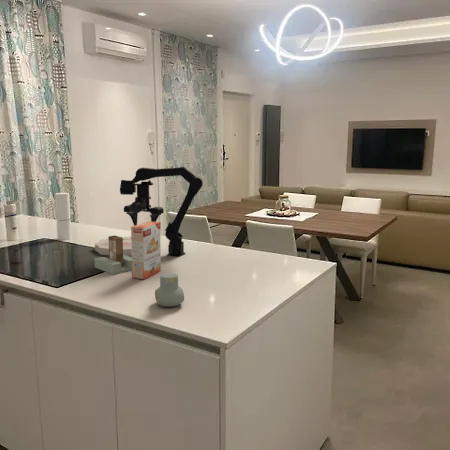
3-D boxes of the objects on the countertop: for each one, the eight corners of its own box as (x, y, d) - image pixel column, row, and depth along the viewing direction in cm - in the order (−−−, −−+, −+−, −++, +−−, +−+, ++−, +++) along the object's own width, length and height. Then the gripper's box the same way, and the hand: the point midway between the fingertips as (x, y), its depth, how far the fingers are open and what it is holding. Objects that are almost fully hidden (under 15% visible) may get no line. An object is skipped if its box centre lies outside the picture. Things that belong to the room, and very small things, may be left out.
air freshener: (153, 300, 154) (153, 272, 153) (177, 297, 157) (177, 269, 155) (160, 311, 144) (160, 281, 143) (185, 308, 147) (185, 278, 145)
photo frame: (123, 266, 192) (122, 237, 190) (117, 267, 190) (116, 238, 187) (115, 263, 196) (114, 235, 194) (109, 265, 194) (108, 236, 191)
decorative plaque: (86, 248, 213) (108, 235, 243) (86, 256, 214) (108, 242, 243) (148, 250, 210) (163, 237, 240) (148, 258, 211) (163, 243, 240)
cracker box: (144, 280, 176) (143, 227, 173) (131, 278, 178) (129, 226, 175) (161, 270, 189) (161, 221, 185) (149, 269, 191) (148, 220, 188)
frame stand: (94, 267, 193) (94, 258, 193) (119, 262, 202) (119, 253, 201) (113, 274, 184) (112, 264, 183) (138, 268, 193) (138, 259, 192)
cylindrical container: (66, 236, 254) (63, 192, 250) (74, 238, 250) (71, 193, 246) (55, 238, 249) (52, 193, 244) (63, 240, 245) (60, 194, 240)
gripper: (116, 195, 207) (117, 229, 210) (151, 197, 200) (151, 232, 203) (130, 193, 218) (130, 225, 220) (163, 195, 211) (164, 228, 213)
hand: (143, 227), depth 214 cm, fingers open, 9 cm apart
